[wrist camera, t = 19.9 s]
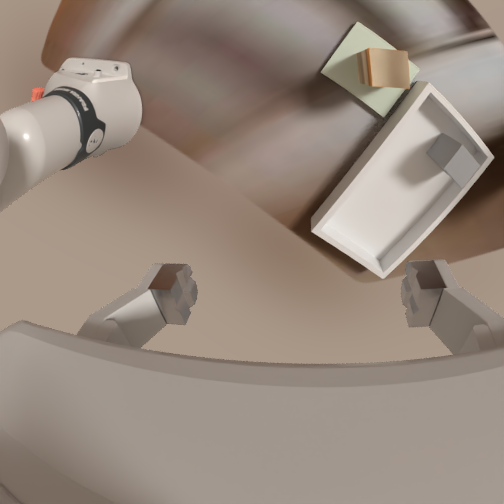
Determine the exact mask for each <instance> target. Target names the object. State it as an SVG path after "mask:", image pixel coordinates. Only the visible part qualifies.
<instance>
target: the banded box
mask: <svg viewBox="0 0 504 504" xmlns="http://www.w3.org/2000/svg"><path fill="white" fill-rule="evenodd" d="M356 60H357V70H358V81H359V83H360V84H366V85H369V86H376V87H392V88H404V89H410V77H409V63H408V53H407V51H399V50H389V49H378V48H367V49H365V50H363V51H361V52H358V53H356Z"/></svg>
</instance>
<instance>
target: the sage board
mask: <svg viewBox="0 0 504 504" xmlns="http://www.w3.org/2000/svg"><path fill="white" fill-rule="evenodd" d="M367 48H378V49H389V50H396V49H395V48H394V47H392V46H391V45H390V44H388V43H387V42H386V41H385V40H383V39H382V38H380V37H379V36H378V35H376V34H375V33H374V32H372V31H371V30H369V29H368V28H366V27H365V26H363V25H362V24H361V23H359V22H357V23H356V24H355V25H354V27H353V28H352V29H351V31H350V32H349V33H348V35H347V36H346V37H345V39H344V40H343V41H342V43H341V44H340V46H339V47H338V48H337V50H336V51H335V52H334V54H333V55H332V57H331V58H330V59H329V61H328V62H327V64H326V65H325V66H324V68H323V69H322V71H321V73H322V74H324V75H325V76H327V77H328V78H330V79H331V80H333V81H334V82H336V83H337V84H339V85H340V86H342V87H343V88H345V89H346V90H347V91H349V92H350V93H352V94H353V95H354V96H356V97H357V98H359V99H360V100H361V101H363V102H364V103H365V104H367V105H368V106H369V107H370V108H372V109H373V110H374V111H376V112H377V113H378V114H379V115H381V116H382V117H383V118H384V117H385V116H386V114H387V113H388V112H389V110H390V109H391V108H392V106H393V105H394V104H395V102H396V101H397V100H398V98H399V97H400V96H401V94H402V93H403V92H404V90H405V89H404V88H392V87H376V86H369V85H366V84H360V83H359V81H358V70H357V60H356V53H358V52H361V51H363V50H365V49H367ZM408 63H409V77H410V82H411V81H412V80H413V78H414V77H415V76H416V74H417V73H418V72H419V70H420V69H419V68H418V67H416V66H415V65H414V64H413V63H412V62H411V61H410V60H408Z"/></svg>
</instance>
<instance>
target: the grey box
mask: <svg viewBox="0 0 504 504" xmlns="http://www.w3.org/2000/svg"><path fill="white" fill-rule="evenodd" d="M426 154H427V155H428V156H429V157H430V158H431V159H432V160H433V161H434V162H435V163H436V164H437V165H438V166H439V167H440V168H441V169H442V170H443V171H444V172H445V173H446V174H447V175H448V176H450V177H451V178H452V179H453V180H454V181H455V182H456V183H457V184H458V185H459V186H460V187H461V188H463V187H464V186H465V184H466V183H467V182H468V181H469V180H470V178H471V177H472V176H473V175H474V173H475V172H476V171H477V170H478V168H479V167H480V165H479V164H478V163H477V161H476V160H475V159H474V158H473V156H472V155H471V154H470V153H469V152H468V150H467V149H466V148H465V147H464V146H463V145H462V144H461V143H459V142H457V141H456V140H454V139H452V138H451V137H449V136H447V135H445V134H444V133H441V135H440V136H439V137H438V139H437V140H436V141H435V142H434V144H433V145H432V146H431V147H430V149H429V150H428V151H427V152H426Z"/></svg>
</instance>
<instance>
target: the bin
mask: <svg viewBox="0 0 504 504" xmlns="http://www.w3.org/2000/svg"><path fill="white" fill-rule="evenodd" d="M441 133H444V134H445V135H447V136H449V137H451V138H452V139H454V140H456V141H457V142H459V143H461V144H462V145H463V146H464V147H465V148H466V149H467V150H468V152H469V153H470V154H471V155H472V156H473V158H474V159H475V160H476V161H477V163H478V164H479V165H480V167H479V168H478V170H477V171H476V172H475V173H474V175H473V176H472V177H471V178H470V180H469V181H468V182H467V183H466V184H465V186H464V187H463V188H461V187H460V186H459V185H458V184H457V183H456V182H455V181H454V180H453V179H452V178H451V177H450V176H448V175H447V174H446V173H445V172H444V171H443V170H442V169H441V168H440V167H439V166H438V165H437V164H436V163H435V162H434V161H433V160H432V159H431V158H430V157H429V156H428V155H427V154H426V152H427V151H428V150H429V149H430V147H431V146H432V145H433V144H434V142H435V141H436V140H437V139H438V137H439V136H440V135H441ZM493 159H494V156H493V155H492V153H491V152H490V151H489V149H488V148H487V147H486V145H485V144H484V143H483V141H482V140H481V139H480V138H479V136H478V135H477V134H476V133H475V131H474V130H473V129H472V128H471V126H470V125H469V124H468V123H467V122H466V121H465V119H464V118H463V117H462V116H461V115H460V114H459V113H458V112H457V110H456V109H455V108H454V107H453V106H452V105H451V104H450V103H449V102H448V101H447V100H446V99H445V98H444V97H443V96H442V95H441V94H440V93H439V92H438V91H437V90H436V89H435V88H434V87H433V86H432V85H431V84H430V83H429V82H423V81H417V82H416V83H415V85H414V86H413V87H412V89H411V90H410V91H409V93H408V94H407V95H406V97H405V98H404V99H403V101H402V102H401V103H400V105H399V106H398V107H397V109H396V110H395V111H394V113H393V114H392V115H391V117H390V118H389V119H388V121H387V122H386V123H385V125H384V126H383V127H382V128H381V130H380V131H379V132H378V134H377V135H376V136H375V138H374V139H373V140H372V141H371V143H370V144H369V145H368V147H367V148H366V149H365V151H364V152H363V153H362V154H361V156H360V157H359V158H358V159H357V161H356V162H355V163H354V165H353V166H352V167H351V168H350V170H349V171H348V172H347V173H346V175H345V176H344V177H343V179H342V180H341V181H340V182H339V184H338V185H337V186H336V187H335V189H334V190H333V191H332V192H331V194H330V195H329V196H328V197H327V199H326V200H325V201H324V202H323V204H322V205H321V206H320V207H319V209H318V210H317V211H316V212H315V214H314V215H313V216H312V217H311V232H313V233H314V234H316V235H317V236H319V237H320V238H322V239H324V240H325V241H327V242H328V243H330V244H331V245H333V246H334V247H336V248H337V249H339V250H341V251H342V252H344V253H345V254H347V255H348V256H350V257H351V258H353V259H354V260H356V261H357V262H359V263H360V264H362V265H363V266H365V267H366V268H368V269H369V270H371V271H372V272H374V273H375V274H376V275H378V276H379V277H381V278H382V279H384V278H385V277H386V276H387V275H388V274H389V273H390V272H391V271H392V270H393V269H395V268H396V267H397V266H398V265H399V264H400V263H401V262H402V261H403V260H404V259H405V258H406V257H407V256H408V255H409V254H410V253H411V252H412V251H413V250H414V249H415V248H416V247H417V246H418V245H419V244H420V243H421V242H422V241H423V240H424V239H425V238H426V237H427V236H428V235H429V234H430V233H431V232H432V230H433V229H434V228H435V227H436V226H437V225H438V224H439V223H440V222H441V221H442V220H443V219H444V218H445V216H446V215H447V214H448V213H449V212H450V211H451V210H452V209H453V208H454V206H455V205H456V204H457V203H458V202H459V201H460V200H461V198H462V197H463V196H464V195H465V194H466V192H467V191H468V190H469V189H470V188H471V186H472V185H473V184H474V183H475V182H476V180H477V179H478V178H479V177H480V175H481V174H482V173H483V172H484V170H485V169H486V168H487V166H488V165H489V164H490V163H491V161H492V160H493Z"/></svg>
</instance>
